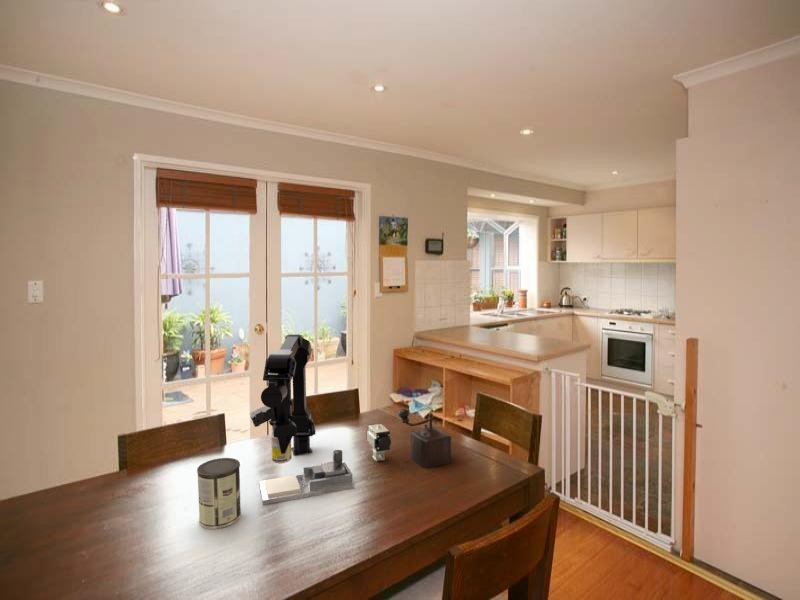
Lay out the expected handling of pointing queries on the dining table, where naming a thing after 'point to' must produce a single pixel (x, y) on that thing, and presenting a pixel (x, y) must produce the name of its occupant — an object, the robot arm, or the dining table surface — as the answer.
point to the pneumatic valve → (378, 440)
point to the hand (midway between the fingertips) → (281, 449)
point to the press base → (312, 486)
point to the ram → (330, 467)
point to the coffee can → (219, 493)
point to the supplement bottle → (276, 452)
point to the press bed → (282, 486)
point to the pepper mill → (428, 443)
